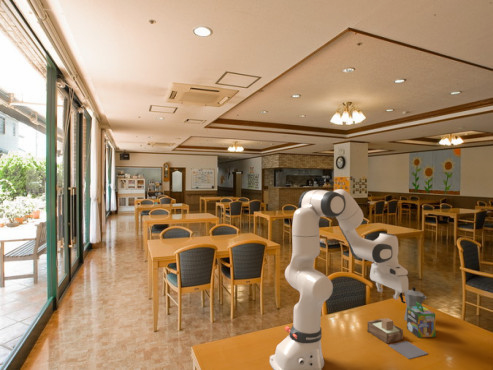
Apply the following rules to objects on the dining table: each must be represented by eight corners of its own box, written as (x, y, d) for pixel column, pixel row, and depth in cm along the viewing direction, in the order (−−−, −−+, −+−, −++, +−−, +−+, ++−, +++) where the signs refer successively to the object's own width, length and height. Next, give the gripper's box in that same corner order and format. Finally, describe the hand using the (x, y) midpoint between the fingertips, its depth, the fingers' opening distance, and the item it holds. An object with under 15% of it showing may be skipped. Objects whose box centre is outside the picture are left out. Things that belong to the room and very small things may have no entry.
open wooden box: (386, 343, 136) (386, 332, 136) (367, 331, 147) (367, 321, 147) (402, 339, 140) (402, 329, 139) (383, 328, 151) (383, 318, 151)
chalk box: (436, 337, 142) (436, 306, 142) (417, 338, 141) (418, 307, 141) (423, 328, 151) (423, 299, 151) (406, 328, 151) (406, 299, 150)
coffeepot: (431, 323, 156) (431, 289, 156) (420, 327, 151) (421, 292, 151) (403, 312, 169) (403, 281, 169) (393, 315, 165) (393, 283, 165)
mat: (409, 359, 124) (409, 358, 124) (388, 345, 134) (388, 344, 134) (428, 354, 128) (428, 353, 128) (406, 341, 138) (406, 340, 138)
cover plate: (385, 334, 137) (385, 324, 137) (370, 325, 146) (370, 315, 146) (399, 331, 140) (399, 321, 140) (383, 322, 149) (384, 313, 149)
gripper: (366, 261, 150) (366, 288, 151) (400, 273, 131) (400, 304, 131) (376, 260, 153) (376, 287, 153) (411, 271, 133) (410, 302, 134)
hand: (387, 295), depth 142 cm, fingers open, 8 cm apart
